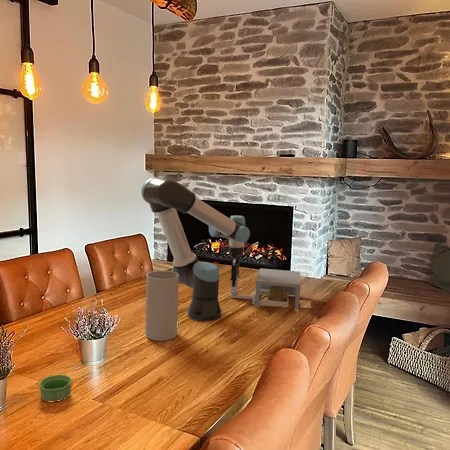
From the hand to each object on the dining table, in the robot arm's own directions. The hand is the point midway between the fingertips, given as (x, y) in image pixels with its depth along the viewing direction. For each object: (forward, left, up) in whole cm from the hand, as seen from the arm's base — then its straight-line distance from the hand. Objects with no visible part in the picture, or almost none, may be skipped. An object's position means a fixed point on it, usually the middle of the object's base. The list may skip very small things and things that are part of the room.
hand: (234, 291), depth 231 cm
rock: (+19, -11, -4) cm, 22 cm away
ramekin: (-87, -72, -4) cm, 113 cm away
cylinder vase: (-47, -37, -4) cm, 60 cm away
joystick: (+11, -6, -3) cm, 13 cm away
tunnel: (+22, -13, -4) cm, 26 cm away
